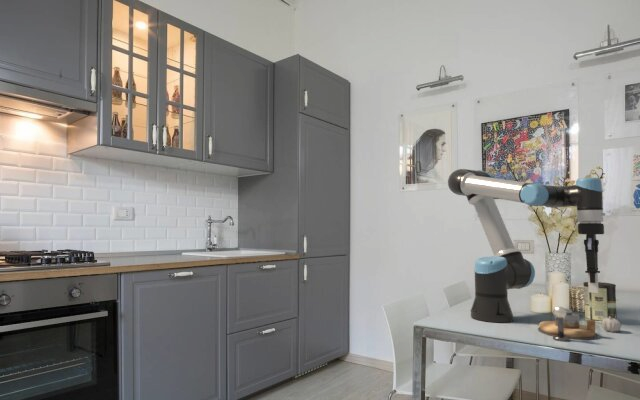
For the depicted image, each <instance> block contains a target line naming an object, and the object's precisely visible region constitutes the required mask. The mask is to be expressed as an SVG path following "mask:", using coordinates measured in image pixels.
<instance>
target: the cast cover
mask: <svg viewBox="0 0 640 400" xmlns="http://www.w3.org/2000/svg"><path fill="white" fill-rule="evenodd" d="M564 309H565V310H566V312H567V314H566V316H565V317H564V318H563V324H564V328H569V329H578V328H579V324H580V314H578V313H573V310H572V309H570V308H564ZM554 321H555V325H556V326H558V318H557V317H555V316H554Z"/></svg>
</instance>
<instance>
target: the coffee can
mask: <svg viewBox="0 0 640 400" xmlns="http://www.w3.org/2000/svg"><path fill="white" fill-rule="evenodd" d="M582 283H583V294H584V295H583V296H584V298H583V299H584V320H585V321H587V320H595V324H596V323H597V324H602V321H603V319H605V318H609V316H611V318H614V319H617V320H618V315H617V292H616V287H617V285H616V284H615V283H610V282H601V281H598V291H599V293H591V292H589V290H588V281H585V282H582Z"/></svg>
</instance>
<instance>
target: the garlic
mask: <svg viewBox="0 0 640 400" xmlns="http://www.w3.org/2000/svg"><path fill="white" fill-rule="evenodd" d="M601 326H602V328H603V329H604V331H606V332H611V333H617V332H619V331H621V328H622V324H621V322H620V321H619V320H618V318H617V319H614V318H611V316H609V318H605V319H603V321H602V323H601Z"/></svg>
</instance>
